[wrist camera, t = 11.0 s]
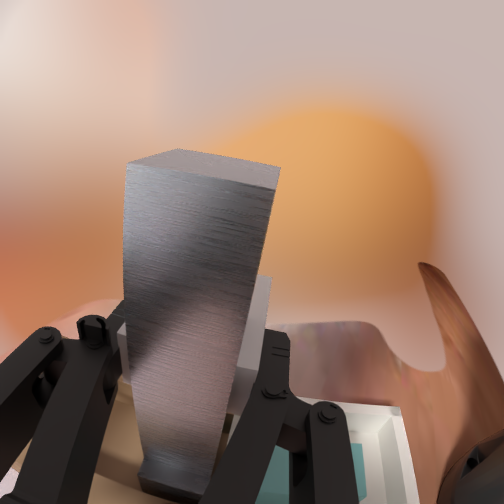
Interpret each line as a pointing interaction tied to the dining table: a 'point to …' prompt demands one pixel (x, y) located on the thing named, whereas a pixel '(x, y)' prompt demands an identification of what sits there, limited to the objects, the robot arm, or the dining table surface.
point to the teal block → (276, 479)
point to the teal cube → (359, 470)
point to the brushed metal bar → (188, 303)
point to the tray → (378, 451)
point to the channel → (125, 455)
